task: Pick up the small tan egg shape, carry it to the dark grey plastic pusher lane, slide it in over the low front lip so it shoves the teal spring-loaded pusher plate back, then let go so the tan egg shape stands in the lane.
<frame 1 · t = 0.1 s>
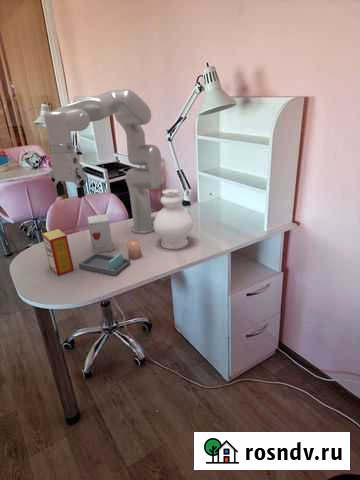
hand: (71, 196, 124), 31 cm above the table, tool pointing down, fingers open, 9 cm apart
supplement box: (102, 248, 155), on the table
tan egg shape: (135, 256, 145), on the table
decorative vase: (174, 243, 156), on the table
pusher lane: (105, 266, 138), on the table
pusher plate: (116, 262, 135), point 3 cm above the table, slide at 0.0 cm
baking soda box: (62, 269, 139), on the table
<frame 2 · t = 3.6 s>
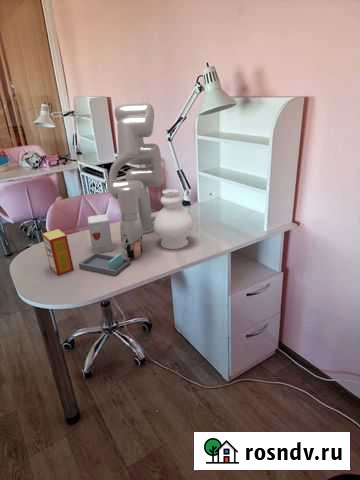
hand: (134, 254, 145), 1 cm above the table, tool pointing down, fingers closed on tan egg shape, 5 cm apart
tan egg shape: (135, 256, 145), on the table, touching gripper
everything else where it was.
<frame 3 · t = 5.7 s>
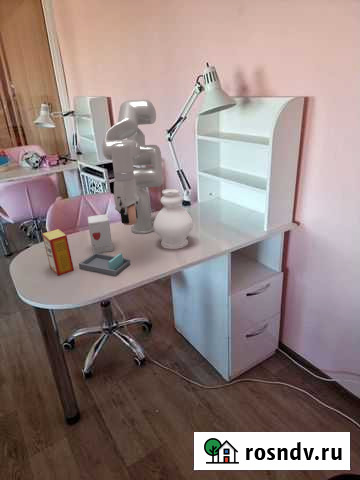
hand: (129, 220, 135), 18 cm above the table, tool pointing down, fingers closed on tan egg shape, 5 cm apart
tan egg shape: (130, 222, 136), point 17 cm above the table, touching gripper
everything else where it was.
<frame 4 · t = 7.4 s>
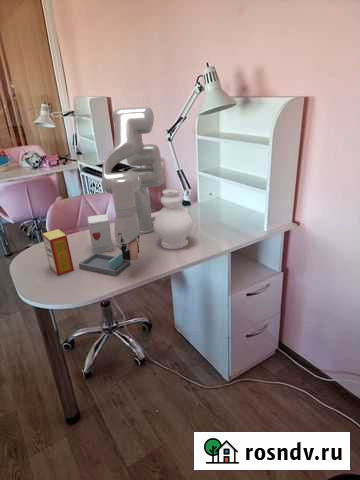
hand: (131, 255, 129), 8 cm above the table, tool pointing down, fingers closed on tan egg shape, 5 cm apart
tan egg shape: (131, 257, 129), point 7 cm above the table, touching gripper
everything else where it was.
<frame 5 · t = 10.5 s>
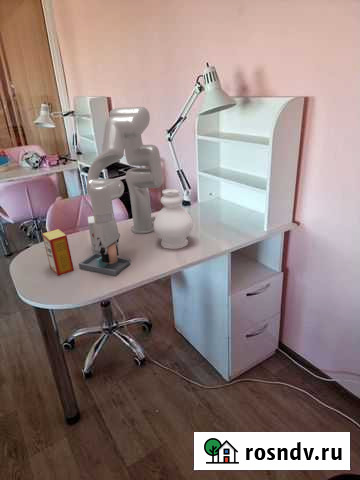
hand: (110, 258, 135), 4 cm above the table, tool pointing down, fingers closed on tan egg shape, 5 cm apart
tan egg shape: (111, 260, 136), point 3 cm above the table, touching gripper, pusher plate
pusher plate: (104, 260, 137), point 3 cm above the table, slide at 5.7 cm, touching tan egg shape
everything else where it was.
when the fingers open (4 cm above the table, at t = 11.5 s): tan egg shape drops 3 cm, resting on pusher lane.
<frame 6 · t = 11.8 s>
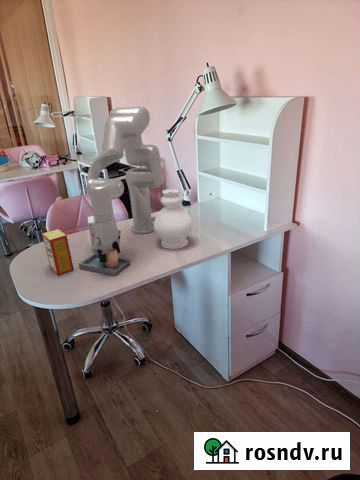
hand: (110, 257, 135), 5 cm above the table, tool pointing down, fingers open, 8 cm apart
tan egg shape: (112, 266, 137), point 1 cm above the table, touching pusher lane
pusher plate: (104, 260, 137), point 3 cm above the table, slide at 5.6 cm
everything else where it was.
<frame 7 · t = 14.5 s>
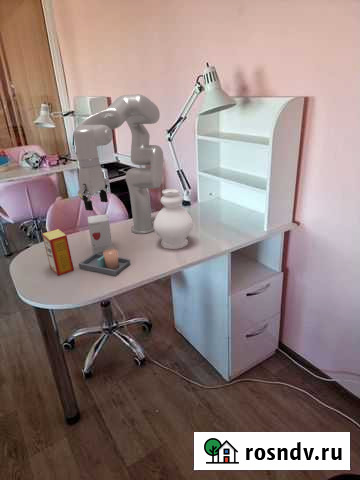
hand: (97, 205, 133), 25 cm above the table, tool pointing down, fingers open, 9 cm apart
tan egg shape: (112, 266, 137), resting on pusher lane, touching pusher plate
pusher plate: (105, 260, 137), point 3 cm above the table, slide at 5.4 cm, touching tan egg shape
everything else where it was.
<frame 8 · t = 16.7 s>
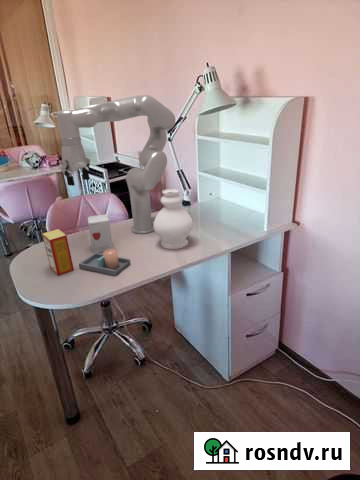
hand: (79, 182, 146), 30 cm above the table, tool pointing down, fingers open, 9 cm apart
tan egg shape: (112, 267, 137), resting on pusher lane
pusher plate: (105, 260, 137), point 3 cm above the table, slide at 5.3 cm
everything else where it was.
at the end: tan egg shape 0.4 cm from the target spot on the pusher lane, point 0.5 cm above the pusher lane's base; tan egg shape tilted 0°; pusher plate slide at 5.3 cm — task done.
